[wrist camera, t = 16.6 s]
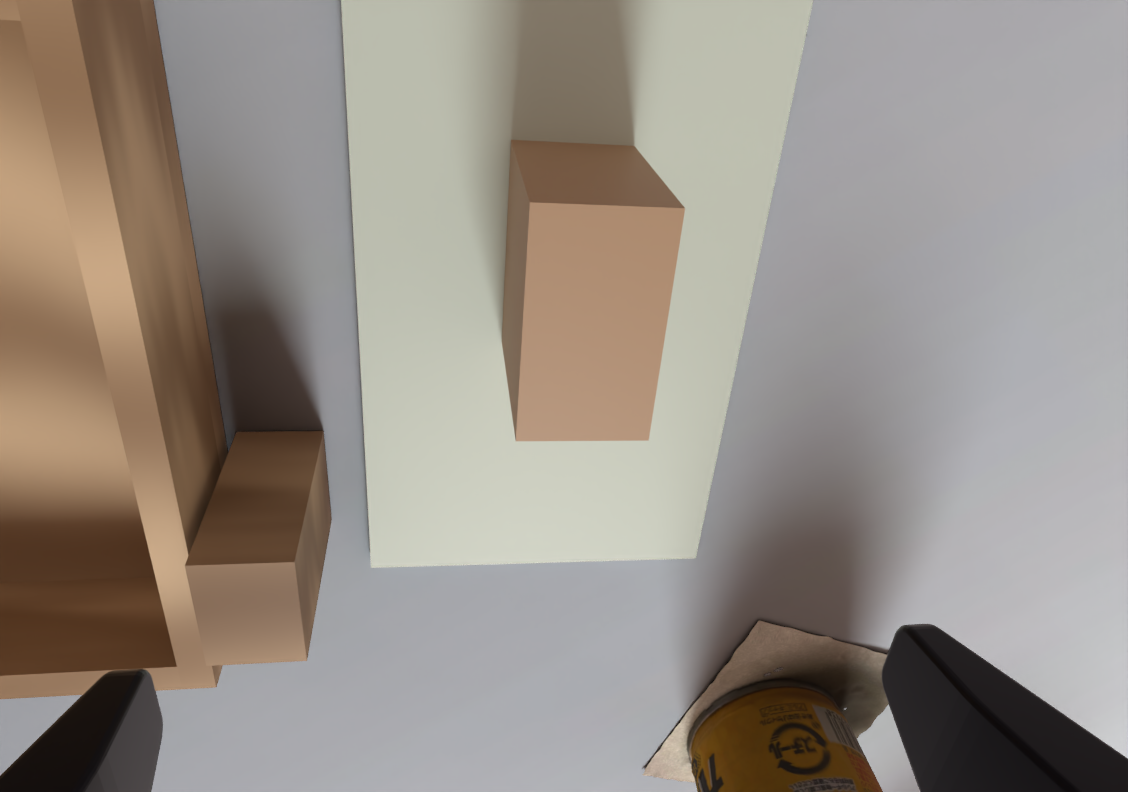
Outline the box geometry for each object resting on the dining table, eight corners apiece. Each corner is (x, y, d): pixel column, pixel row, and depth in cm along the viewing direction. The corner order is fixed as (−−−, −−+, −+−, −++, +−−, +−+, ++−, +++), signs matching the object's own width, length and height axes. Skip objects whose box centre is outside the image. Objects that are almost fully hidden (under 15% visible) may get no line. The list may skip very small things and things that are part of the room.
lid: (687, 537, 26) (741, 674, 21) (373, 544, 25) (357, 694, 20) (797, -13, 18) (921, 14, 13) (343, -51, 17) (305, -35, 12)
